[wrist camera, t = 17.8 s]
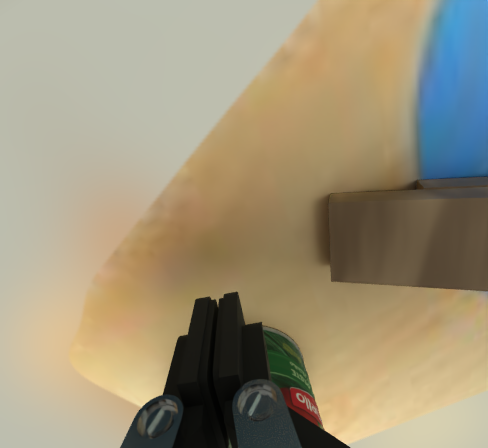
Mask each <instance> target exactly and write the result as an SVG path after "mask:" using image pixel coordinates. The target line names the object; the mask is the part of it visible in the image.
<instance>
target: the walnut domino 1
mask: <svg viewBox="0 0 488 448" xmlns="http://www.w3.org/2000/svg"><path fill="white" fill-rule="evenodd" d="M328 207H329V234H330V261H331V282H347V283H363V284H379V285H396V286H412V287H428V288H444V289H460V290H476V291H488V187H468V188H445V189H422V190H399V191H376V192H352V193H331V194H330V198H329V202H328Z"/></svg>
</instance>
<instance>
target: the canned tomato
mask: <svg viewBox="0 0 488 448" xmlns="http://www.w3.org/2000/svg"><path fill="white" fill-rule="evenodd" d="M263 331H264V336H265V341H266V347H267V353H268V359H269V366H270V373H271V380H272V382H273V383H275V384H276V385H277V386H278V387H279V388H280V390H281V392H282V394H283V396H284V399H285V402H286V405H287V406H288V407H290V408H291V409H293V410H294V411H296V412H297V413H299V414H300V415H302V416H303V417H305V418H306V419H308V420H309V421H311V422H312V423H314V424H315V425H317V426H318V427H320V428H322V429H323V430H324V428H323V425H322V420H321V418H320V415H319V411H318V407H317V405H316V402H315V397H314V394H313V392H312V388H311V384H310V382H309V378H308V374H307V371H306V368H305V365H304V361H303V356H302V353H301V351H300V349H299V347H298V346H297V344H296V343H295V342H294V341H293V340H292V339H291V338H290V337H289V336H287V335H286V334H284V333H282V332H280V331H278V330H276V329H273V328H270V327H265V326H263ZM229 448H232V447H231V443H230V440H229Z"/></svg>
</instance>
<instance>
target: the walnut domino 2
mask: <svg viewBox="0 0 488 448" xmlns="http://www.w3.org/2000/svg"><path fill="white" fill-rule="evenodd" d="M468 187H488V177H469V178H447V179H426V180H417V186H416V190H422V189H445V188H468Z"/></svg>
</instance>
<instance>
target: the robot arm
mask: <svg viewBox="0 0 488 448" xmlns="http://www.w3.org/2000/svg"><path fill="white" fill-rule="evenodd" d="M229 440H230V443H231V447H232V448H350V447H349V446H347V445H346V444H344V443H343V442H341V441H340V440H338V439H337V438H335V437H334V436H332V435H331V434H329V433H328V432H326V431H325V430H323V429H322V428H320V427H318V426H317V425H315V424H314V423H312V422H311V421H309V420H308V419H306V418H305V417H303V416H302V415H300V414H299V413H297V412H296V411H294V410H293V409H291V408H290V407H288V406H287V405H286V402H285V399H284V396H283V394H282V392H281V390H280V388H279V387H278V386H277V385H276V384H275V383H273V382H272V380H271V373H270V366H269V359H268V353H267V347H266V341H265V336H264V331H263V326H262V322H259V323H253V324H247V325H245V322H244V317H243V313H242V308H241V304H240V299H239V295H238V292H233V293H227V294H224V298H220V299H219V306H218V305H217V302H216V300H215V299H214V300H211V298H210V297H205V298H199V299H196V300H195V305H194V309H193V314H192V318H191V323H190V327H189V332H188V335H184V336H180V337H178V340H177V343H176V347H175V351H174V355H173V358H172V362H171V366H170V370H169V374H168V377H167V381H166V385H165V389H164V392H163V395H161V396H158V397H156V398H153V399H152V400H150V401H149V402H147V403H146V404H145V405H144V406H143V407H142V408H141V409H140V410H139V411H138V413H137V414H136V416H135V418H134V420H133V422H132V424H131V426H130V428H129V430H128V432H127V434H126V437H125V439H124V441H123V443H122V445H121V447H120V448H229Z"/></svg>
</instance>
